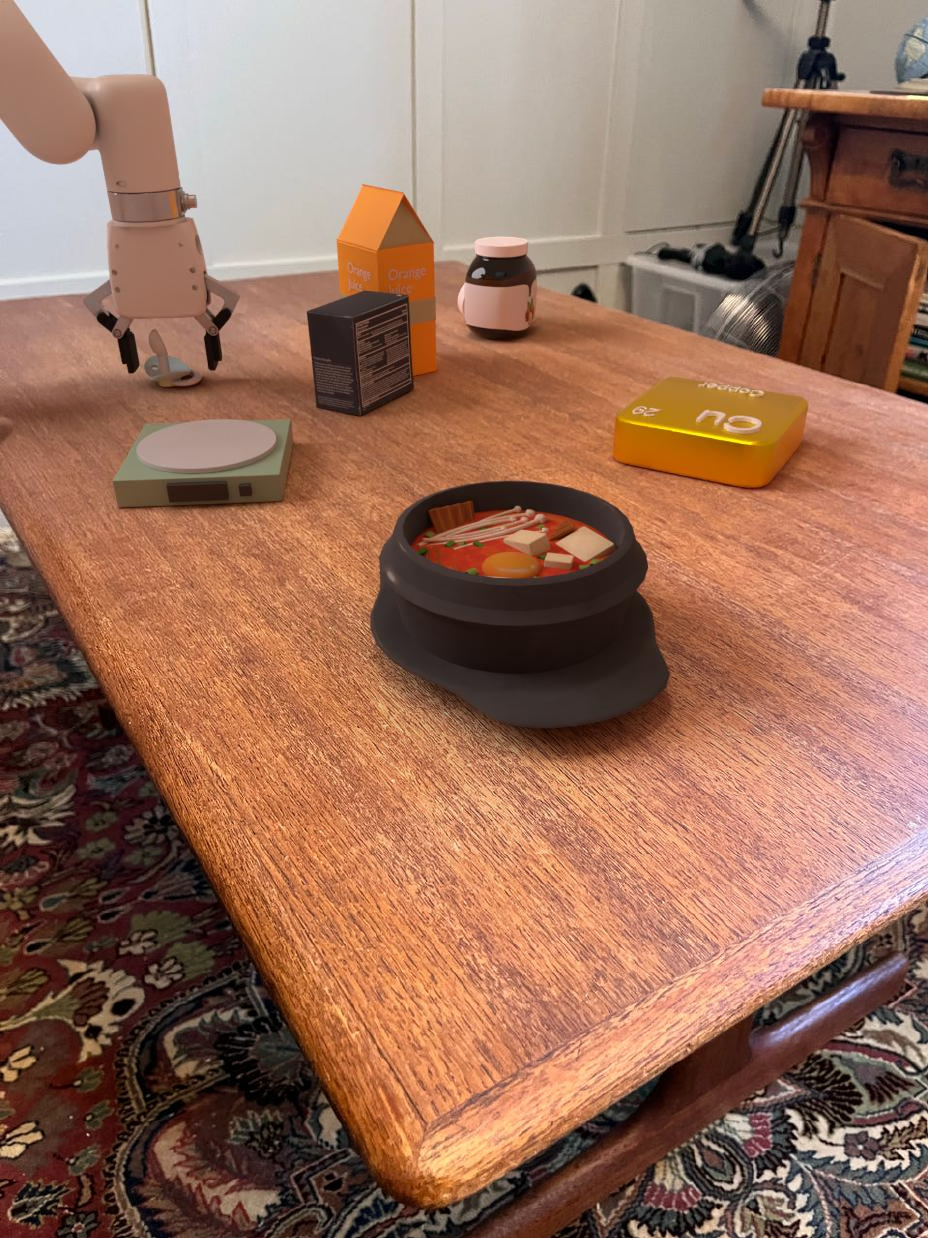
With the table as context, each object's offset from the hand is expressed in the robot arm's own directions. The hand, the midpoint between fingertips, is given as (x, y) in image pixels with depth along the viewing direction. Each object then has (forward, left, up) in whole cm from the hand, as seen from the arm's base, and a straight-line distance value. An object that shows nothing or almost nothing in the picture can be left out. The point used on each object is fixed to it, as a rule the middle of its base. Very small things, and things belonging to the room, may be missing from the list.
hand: (174, 368), depth 113 cm
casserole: (+32, -59, -2) cm, 67 cm away
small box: (+22, -8, -2) cm, 23 cm away
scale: (+8, -28, -2) cm, 29 cm away
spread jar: (+39, +19, -2) cm, 43 cm away
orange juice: (+25, +3, -2) cm, 25 cm away
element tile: (+55, -27, -2) cm, 61 cm away
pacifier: (0, 0, -2) cm, 2 cm away
